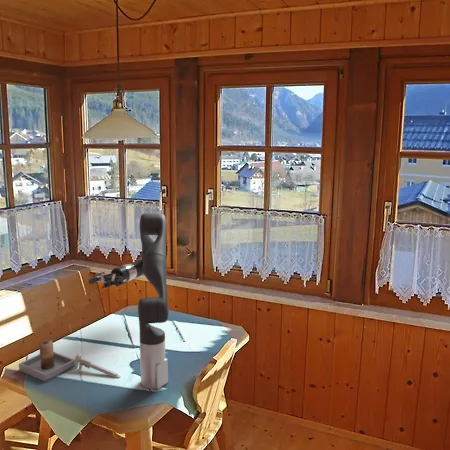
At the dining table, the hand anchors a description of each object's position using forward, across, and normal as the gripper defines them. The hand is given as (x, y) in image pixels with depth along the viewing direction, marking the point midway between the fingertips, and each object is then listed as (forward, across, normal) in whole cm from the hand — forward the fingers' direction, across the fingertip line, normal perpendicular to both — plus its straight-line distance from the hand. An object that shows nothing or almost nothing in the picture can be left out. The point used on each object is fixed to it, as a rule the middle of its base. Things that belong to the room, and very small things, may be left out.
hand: (96, 283), depth 198 cm
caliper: (+14, +13, +30) cm, 36 cm away
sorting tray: (+22, -6, +30) cm, 38 cm away
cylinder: (+22, -6, +29) cm, 37 cm away
